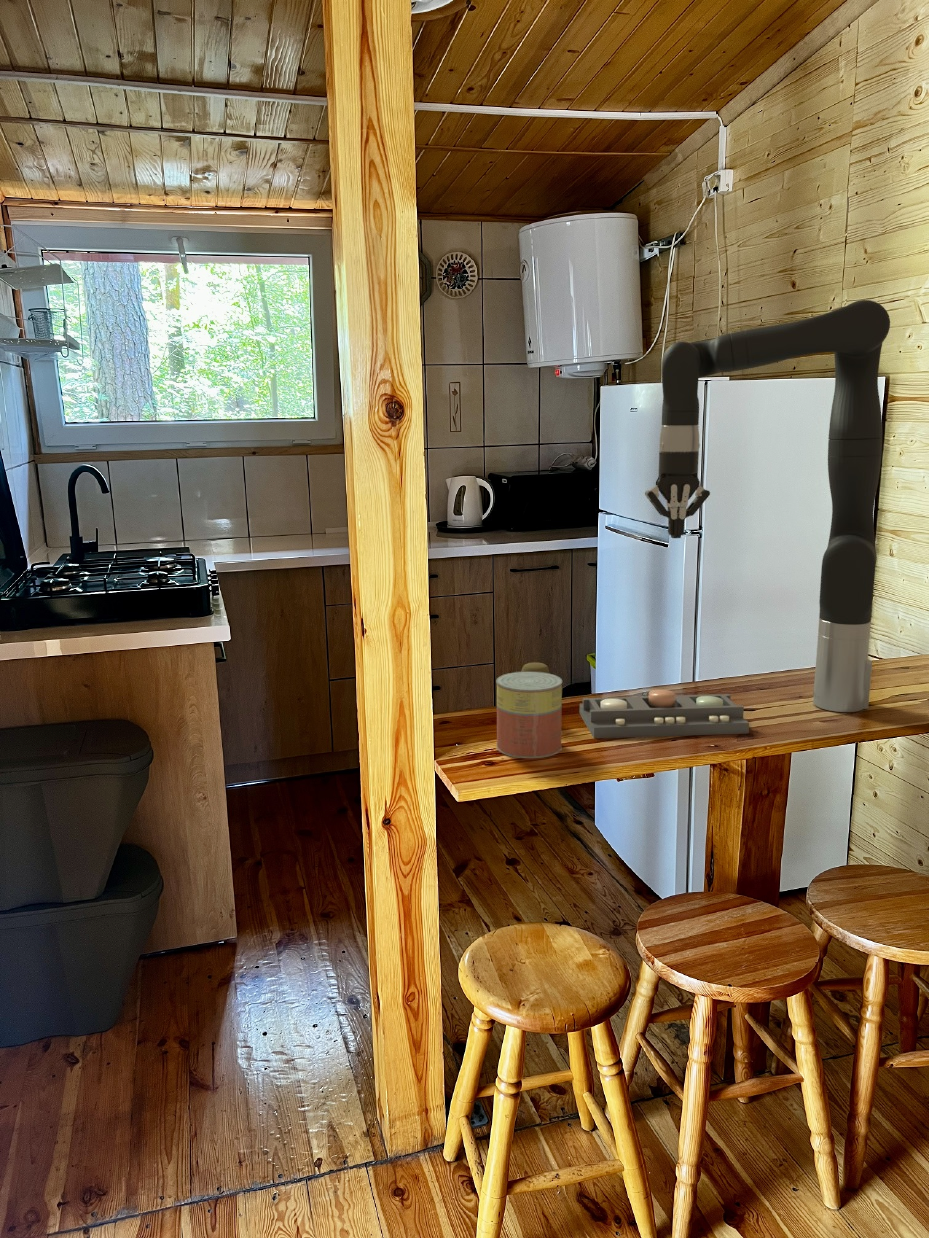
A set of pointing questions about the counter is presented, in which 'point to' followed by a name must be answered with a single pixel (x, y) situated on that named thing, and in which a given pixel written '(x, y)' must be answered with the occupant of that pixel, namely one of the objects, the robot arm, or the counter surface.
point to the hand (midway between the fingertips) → (675, 537)
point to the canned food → (529, 714)
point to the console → (663, 718)
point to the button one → (613, 704)
